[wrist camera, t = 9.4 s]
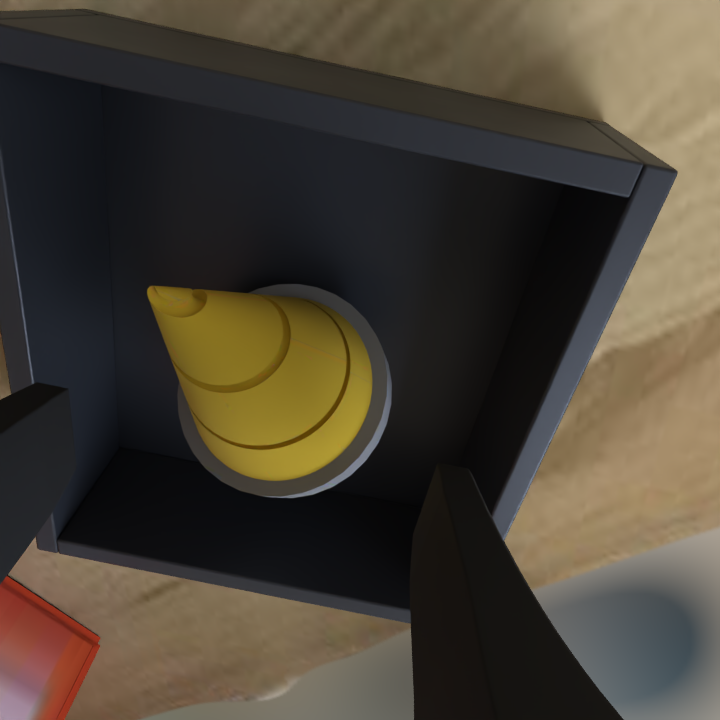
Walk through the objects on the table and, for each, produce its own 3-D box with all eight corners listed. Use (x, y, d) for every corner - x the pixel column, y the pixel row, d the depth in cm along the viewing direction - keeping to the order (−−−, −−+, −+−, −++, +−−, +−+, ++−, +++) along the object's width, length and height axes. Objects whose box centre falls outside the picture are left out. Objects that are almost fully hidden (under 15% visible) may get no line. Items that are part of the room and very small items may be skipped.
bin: (109, 446, 20) (36, 550, 16) (83, 8, 13) (-56, 11, 9) (453, 516, 20) (460, 634, 17) (607, 122, 13) (681, 171, 10)
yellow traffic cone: (202, 399, 19) (-67, 272, 9) (334, 297, 19) (204, 69, 9) (295, 539, 17) (84, 563, 8) (439, 426, 17) (410, 310, 8)
